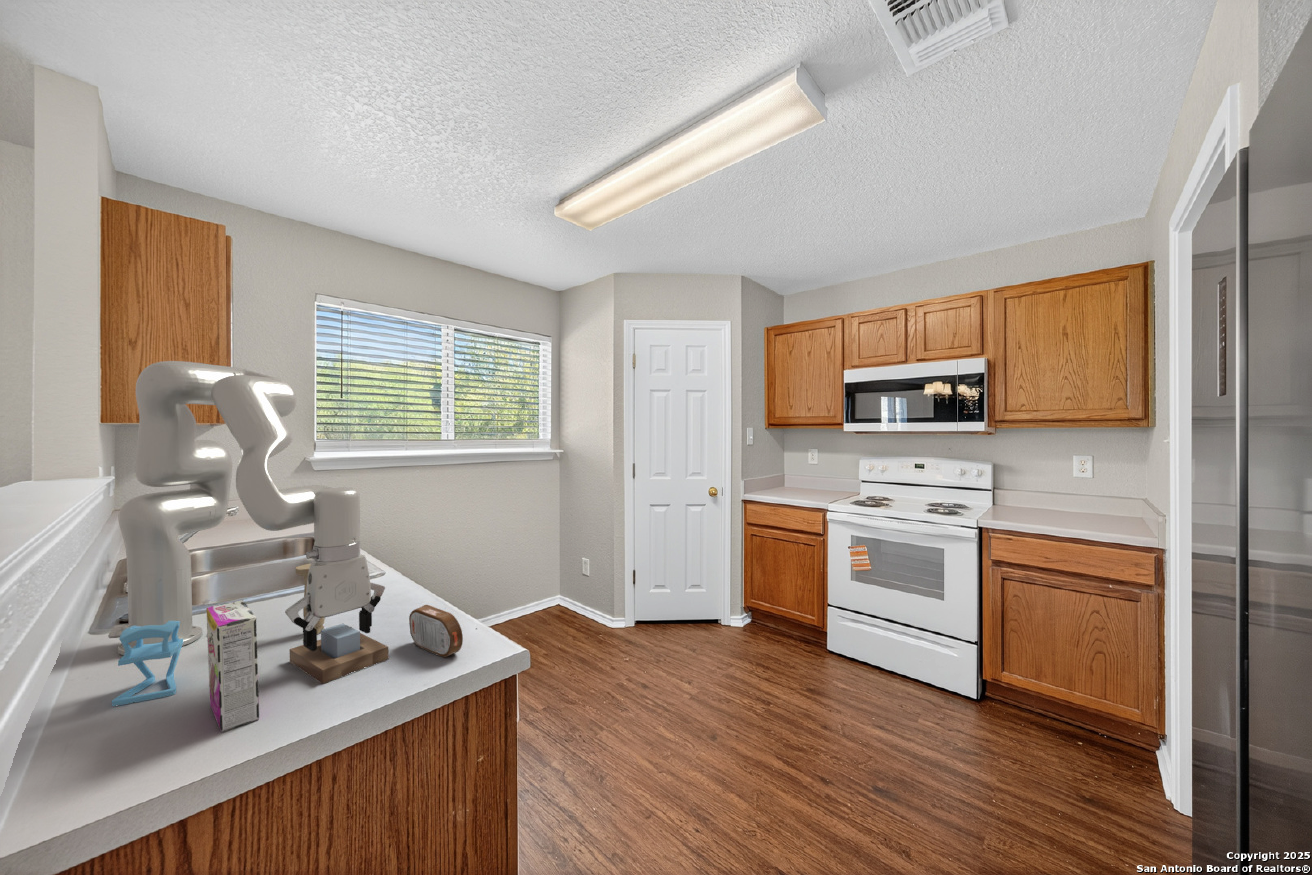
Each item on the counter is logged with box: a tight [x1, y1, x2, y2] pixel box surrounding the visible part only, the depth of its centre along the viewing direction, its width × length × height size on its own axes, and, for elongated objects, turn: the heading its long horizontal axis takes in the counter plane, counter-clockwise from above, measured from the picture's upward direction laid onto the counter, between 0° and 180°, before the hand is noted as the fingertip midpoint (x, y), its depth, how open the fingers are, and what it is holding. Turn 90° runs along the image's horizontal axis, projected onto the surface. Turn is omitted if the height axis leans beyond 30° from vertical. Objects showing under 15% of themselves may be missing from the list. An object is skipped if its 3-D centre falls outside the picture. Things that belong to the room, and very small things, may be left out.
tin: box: [408, 604, 464, 658], centre depth 102 cm, size 15×3×8 cm, turn 57°
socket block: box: [289, 632, 389, 685], centre depth 98 cm, size 12×14×4 cm
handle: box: [295, 563, 326, 635], centre depth 110 cm, size 5×6×15 cm
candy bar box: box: [205, 599, 260, 733], centre depth 80 cm, size 11×5×16 cm, turn 48°
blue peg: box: [320, 623, 361, 659], centre depth 98 cm, size 4×7×6 cm, turn 55°
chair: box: [111, 621, 183, 707], centre depth 87 cm, size 8×8×12 cm
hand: (339, 639), depth 98 cm, fingers open, 9 cm apart
